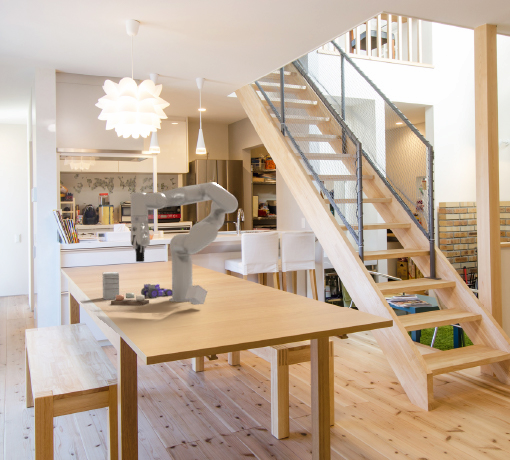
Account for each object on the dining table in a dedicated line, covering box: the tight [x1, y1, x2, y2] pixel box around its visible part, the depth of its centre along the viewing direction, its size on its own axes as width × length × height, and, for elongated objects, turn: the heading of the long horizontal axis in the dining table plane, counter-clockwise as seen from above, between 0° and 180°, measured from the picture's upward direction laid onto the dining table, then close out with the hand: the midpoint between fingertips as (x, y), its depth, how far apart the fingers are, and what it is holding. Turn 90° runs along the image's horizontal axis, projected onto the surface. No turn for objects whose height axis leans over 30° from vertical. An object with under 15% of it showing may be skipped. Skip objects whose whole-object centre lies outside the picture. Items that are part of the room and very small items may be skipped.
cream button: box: [135, 294, 146, 301], centre depth 213 cm, size 4×4×2 cm
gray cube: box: [185, 284, 208, 305], centre depth 208 cm, size 6×6×6 cm
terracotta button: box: [115, 294, 125, 300], centre depth 215 cm, size 4×4×2 cm
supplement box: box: [102, 271, 120, 301], centre depth 233 cm, size 7×7×13 cm
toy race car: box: [140, 283, 172, 299], centre depth 240 cm, size 10×15×6 cm, turn 130°
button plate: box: [110, 298, 150, 306], centre depth 214 cm, size 16×6×2 cm, turn 77°
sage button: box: [125, 292, 135, 299], centre depth 214 cm, size 4×4×2 cm
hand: (140, 261), depth 213 cm, fingers closed
